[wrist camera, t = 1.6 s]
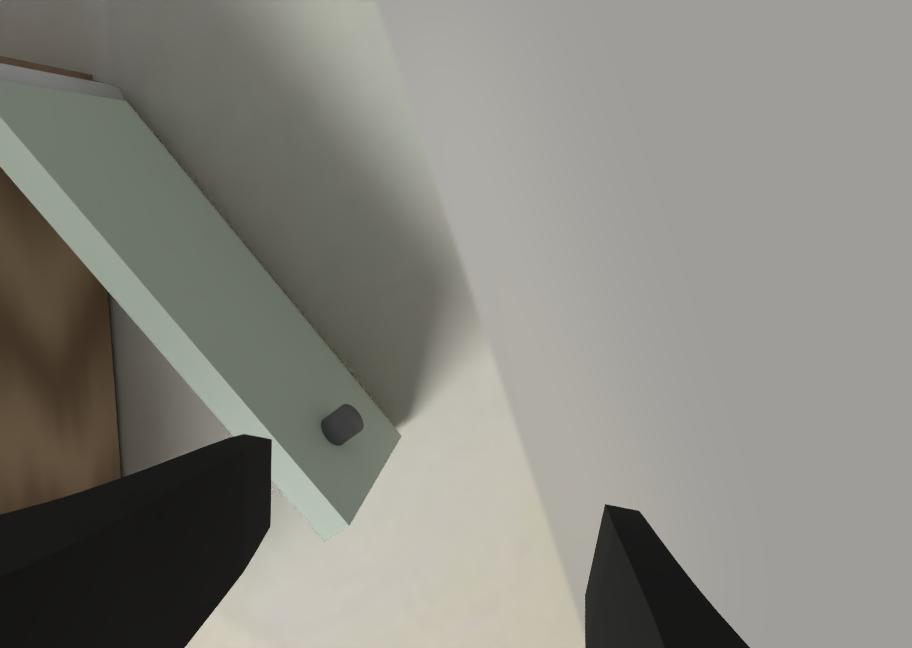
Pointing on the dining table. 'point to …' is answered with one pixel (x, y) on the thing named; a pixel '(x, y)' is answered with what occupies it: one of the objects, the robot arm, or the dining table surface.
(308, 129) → the dining table surface
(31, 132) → the door
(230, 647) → the dining table surface
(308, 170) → the dining table surface
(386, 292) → the dining table surface
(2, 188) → the cabinet
